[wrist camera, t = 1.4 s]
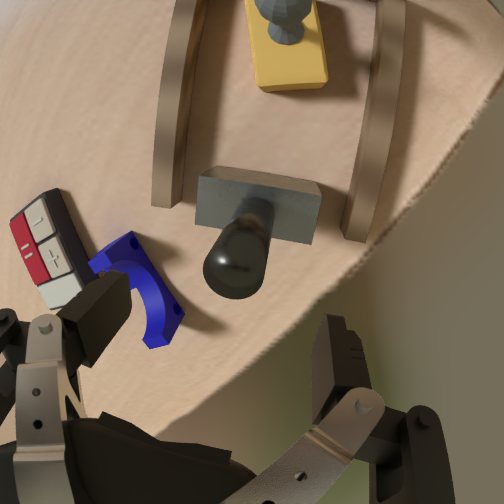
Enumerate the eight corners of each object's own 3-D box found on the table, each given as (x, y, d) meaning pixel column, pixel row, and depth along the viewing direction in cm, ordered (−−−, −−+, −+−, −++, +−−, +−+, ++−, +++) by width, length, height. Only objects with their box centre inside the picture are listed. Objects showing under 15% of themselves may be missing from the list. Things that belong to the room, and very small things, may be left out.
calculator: (40, 192, 26) (88, 303, 31) (62, 185, 30) (106, 287, 35) (5, 222, 29) (47, 313, 34) (24, 213, 33) (63, 299, 38)
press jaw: (216, 165, 26) (143, 209, 13) (316, 182, 26) (341, 243, 13) (212, 205, 28) (145, 280, 15) (307, 222, 27) (320, 314, 14)
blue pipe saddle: (108, 244, 32) (80, 267, 27) (132, 229, 31) (104, 252, 25) (159, 321, 36) (141, 351, 31) (185, 312, 35) (168, 344, 29)
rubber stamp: (324, 88, 22) (350, 60, 11) (260, 92, 23) (237, 67, 12) (309, -2, 18) (318, -70, 7) (248, 3, 19) (220, -62, 8)
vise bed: (197, -32, 17) (169, -68, 10) (395, -6, 16) (424, -37, 9) (163, 197, 28) (124, 223, 21) (358, 231, 27) (379, 269, 20)
